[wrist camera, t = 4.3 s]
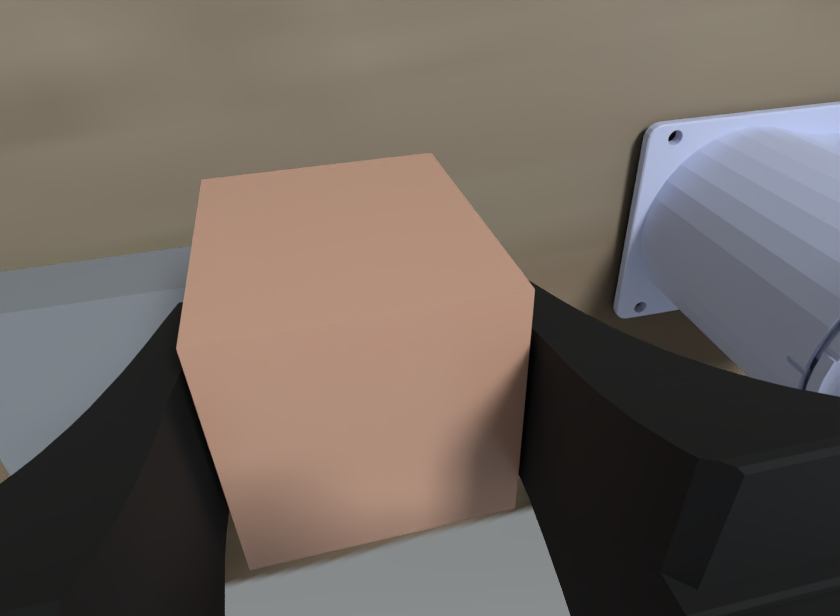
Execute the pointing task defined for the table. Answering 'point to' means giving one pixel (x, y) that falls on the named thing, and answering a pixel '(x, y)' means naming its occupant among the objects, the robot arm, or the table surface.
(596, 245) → the table surface
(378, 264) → the terracotta cube
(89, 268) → the slate block
